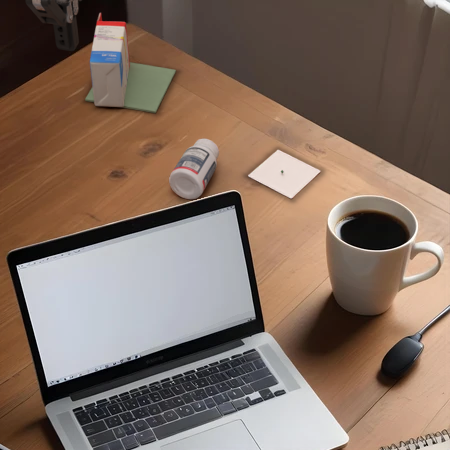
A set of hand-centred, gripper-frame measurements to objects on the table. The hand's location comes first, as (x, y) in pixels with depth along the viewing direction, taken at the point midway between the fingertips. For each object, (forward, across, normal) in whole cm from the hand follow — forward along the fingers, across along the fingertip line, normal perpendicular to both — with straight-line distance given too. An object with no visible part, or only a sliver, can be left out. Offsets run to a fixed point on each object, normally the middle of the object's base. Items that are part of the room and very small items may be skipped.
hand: (67, 46), depth 95 cm
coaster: (+29, -19, +24) cm, 42 cm away
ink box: (+24, -27, -6) cm, 37 cm away
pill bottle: (+26, -9, +11) cm, 30 cm away
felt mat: (+29, -34, -5) cm, 45 cm away
